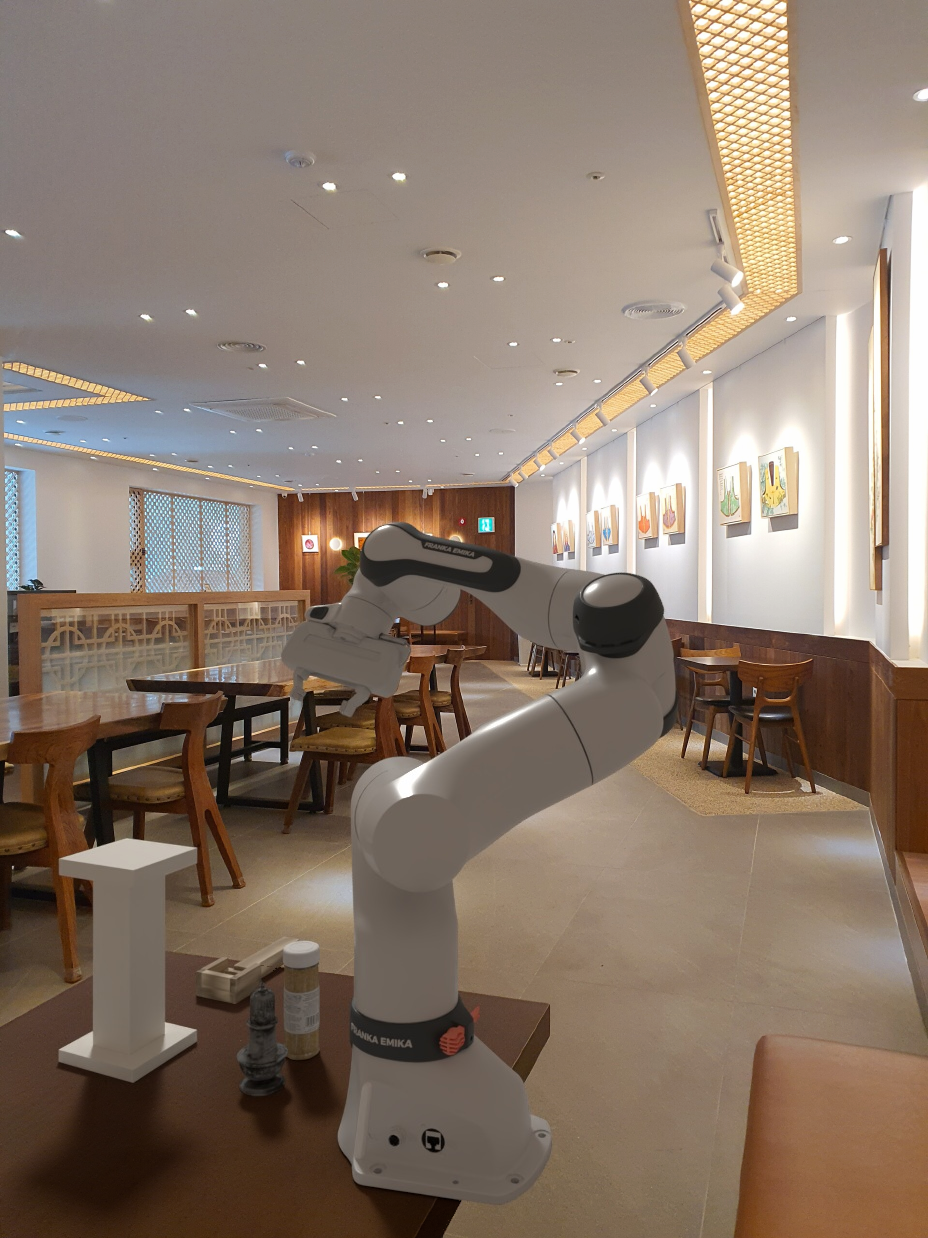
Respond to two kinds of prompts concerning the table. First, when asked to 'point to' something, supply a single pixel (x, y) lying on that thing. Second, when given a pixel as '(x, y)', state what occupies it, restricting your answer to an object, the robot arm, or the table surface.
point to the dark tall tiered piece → (262, 1048)
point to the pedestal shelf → (128, 958)
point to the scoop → (239, 973)
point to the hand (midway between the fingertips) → (319, 706)
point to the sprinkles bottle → (301, 999)
